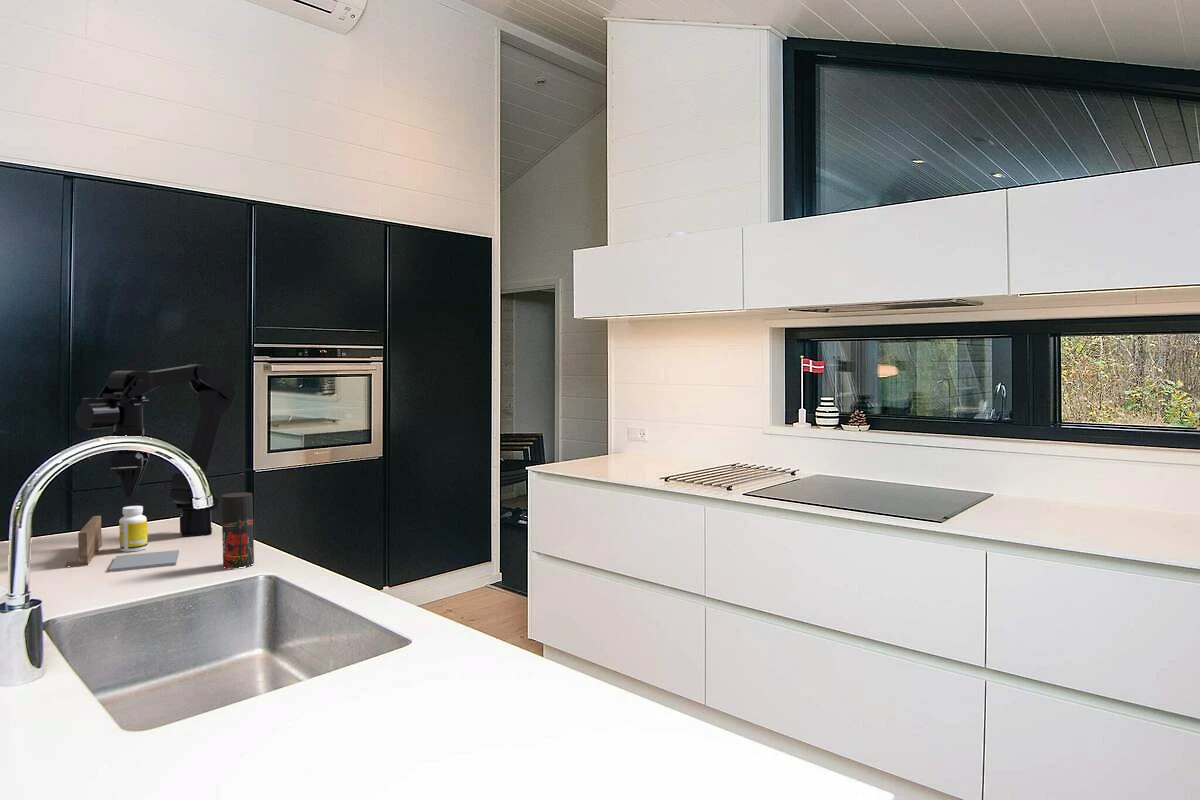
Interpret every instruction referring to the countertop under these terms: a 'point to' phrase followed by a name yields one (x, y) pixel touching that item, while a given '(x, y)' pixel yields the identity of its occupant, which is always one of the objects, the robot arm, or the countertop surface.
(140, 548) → the supplement bottle
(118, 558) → the mat
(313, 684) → the countertop surface
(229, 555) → the deodorant
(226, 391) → the robot arm
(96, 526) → the screen
